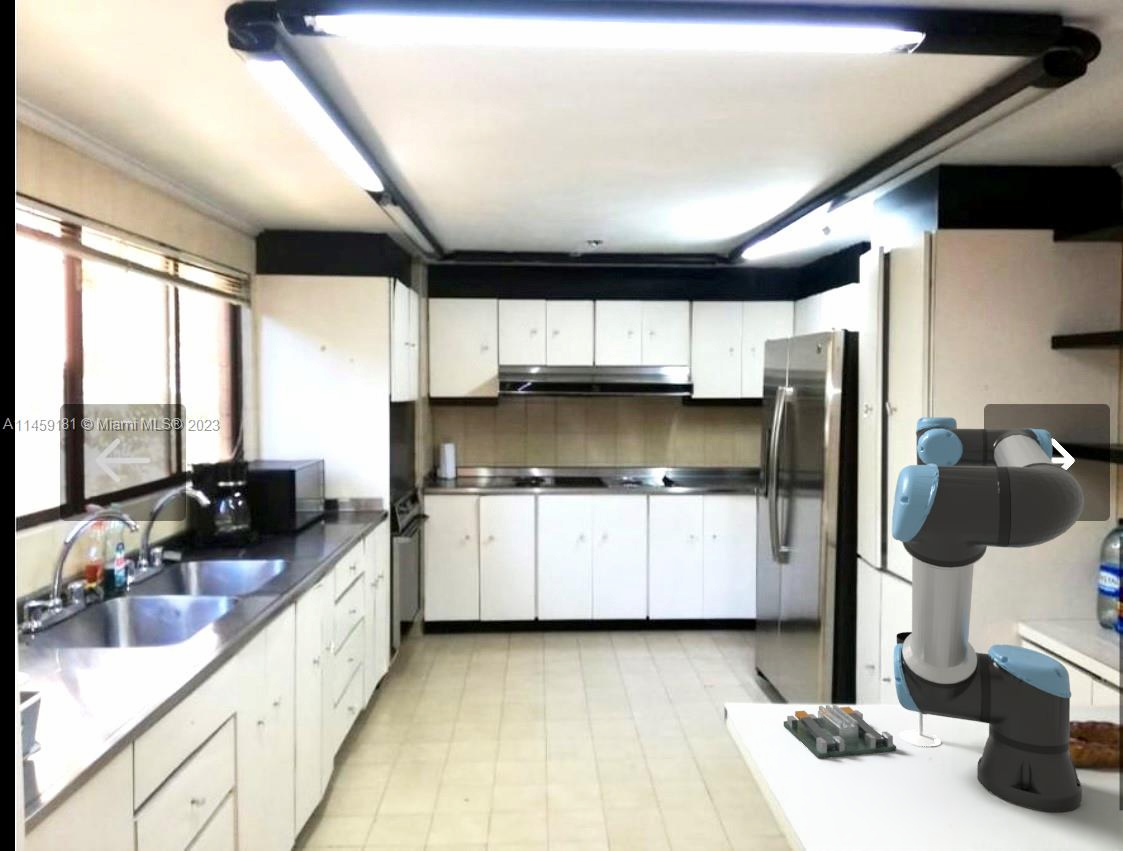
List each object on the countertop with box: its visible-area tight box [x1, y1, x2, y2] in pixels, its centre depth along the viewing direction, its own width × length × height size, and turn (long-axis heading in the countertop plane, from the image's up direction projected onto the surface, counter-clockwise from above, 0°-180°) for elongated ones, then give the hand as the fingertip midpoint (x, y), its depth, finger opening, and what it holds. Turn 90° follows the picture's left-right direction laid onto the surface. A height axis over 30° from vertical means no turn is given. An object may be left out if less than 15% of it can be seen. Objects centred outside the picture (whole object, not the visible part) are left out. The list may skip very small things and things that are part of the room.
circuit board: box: [783, 704, 897, 760], centre depth 143 cm, size 14×16×5 cm
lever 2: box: [839, 706, 884, 744], centre depth 144 cm, size 12×2×1 cm, turn 9°
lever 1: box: [794, 710, 835, 749], centre depth 142 cm, size 12×2×1 cm, turn 9°
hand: (936, 602), depth 151 cm, fingers closed
